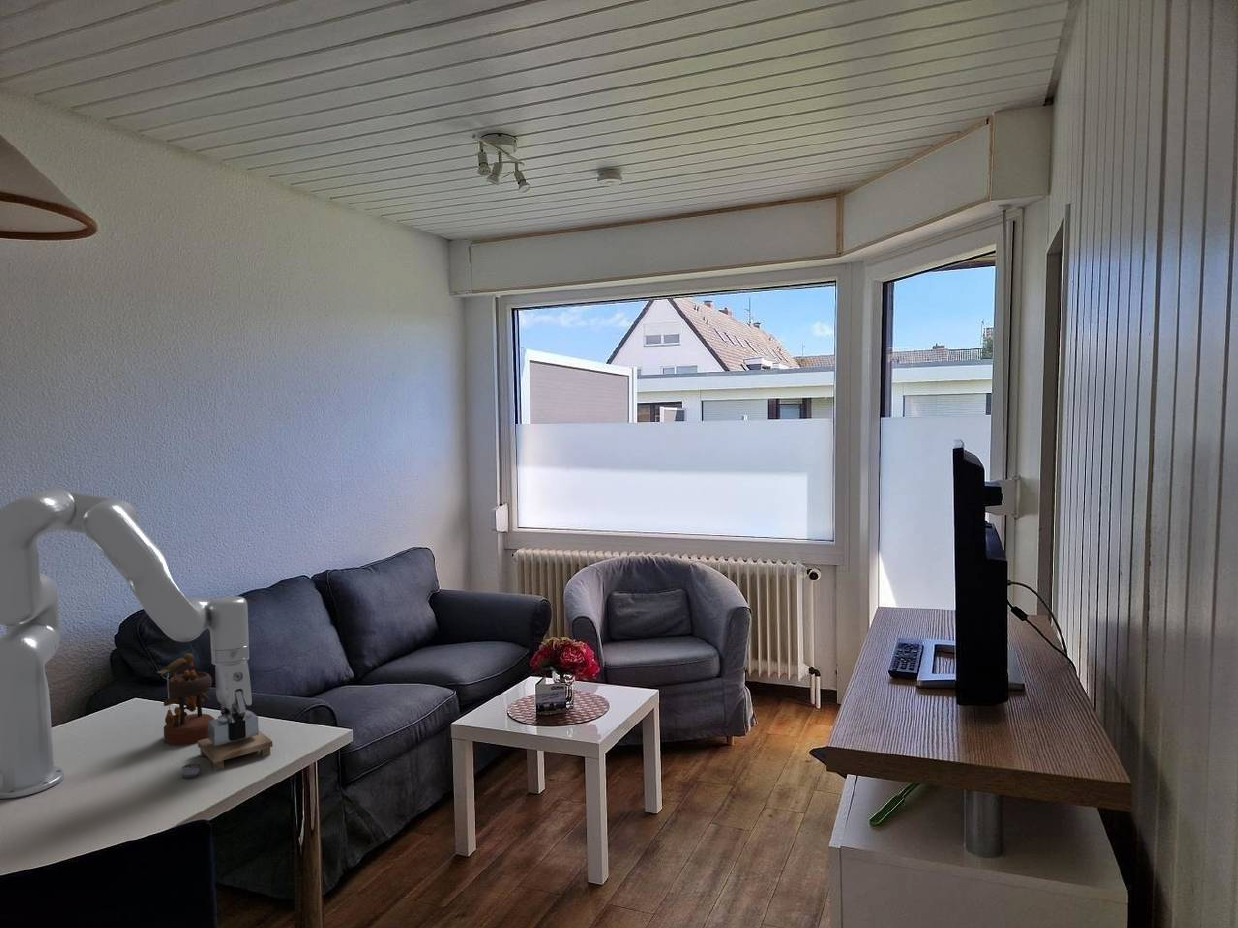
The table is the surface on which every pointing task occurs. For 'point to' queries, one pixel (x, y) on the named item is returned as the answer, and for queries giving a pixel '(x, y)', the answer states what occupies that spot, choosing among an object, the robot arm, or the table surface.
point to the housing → (220, 728)
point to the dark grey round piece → (191, 771)
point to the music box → (186, 685)
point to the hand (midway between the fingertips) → (233, 734)
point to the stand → (234, 748)
